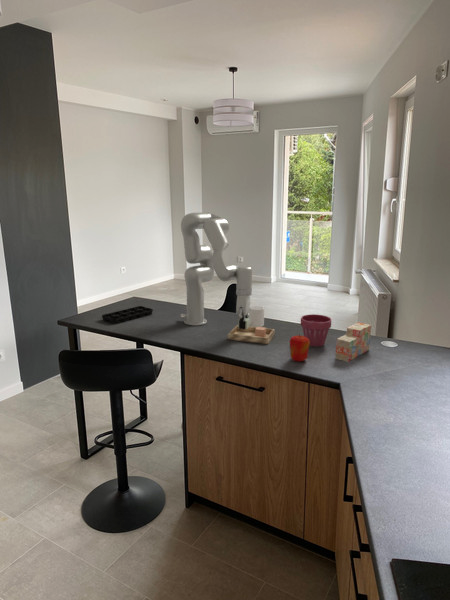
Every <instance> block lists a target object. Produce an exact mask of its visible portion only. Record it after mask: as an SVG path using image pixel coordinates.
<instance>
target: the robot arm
mask: <svg viewBox="0 0 450 600" xmlns="http://www.w3.org/2000/svg"><path fill="white" fill-rule="evenodd" d="M201 229H202V230H204V233H205V235H206V237H207V240H208V242H209V244H210V246H208V245H206V244H201V241H200V236H199V234H198V232H197V231H196V230H201ZM180 230H181V233H182V237H183V247H184V255H185V261H186V262H187V263H188V264H191V265H193V264H194V265H195V264H199V265H195V266H194V265H193V266H190V267H188V268H187V269H185V271H184V282H185V286H186V287H185V289H186V314H185V313H180V319H184V320H183V323H184V324H185V325H187V326H203V325H206V324H207V322H208V321H207V319H206V318H205V292H204V291H205V290H204V288H203V286H202V284H203V283H206V282H208V283H209V282H210V281H212V280H213V279H214V277H215V274H216V276H217V277H218V279H219V280H220V281H222V282H230V281H235V280H236V286H235V287H236V291H235V293H236V294H235V295H236V297H237V298H236V303H235V304H236V305H235V306H236V309H235V316H238V320H239V329H245V326H246V321H245V318H249V312H250V306H251V296H252V295H253V293H252V292H253V291H252V290H253V268H252V267H250V266H244V265H240V264H239V263H237V264H236V263H235V264H228V265H226V263H225V261H224V259H223V253H224V251H225V250H227V248H228V247H229V244H230V243H229V241H228V239H227V237H226V234H228V232H229V230H230V224H229V222H228V221H227V220H226V219H225V218H224V217H221V216H219V215H216V214H214V213H210V212H190V213H187V214H185V215H184V216H183V217H182V219H181V222H180ZM211 248H212V249H211Z"/></svg>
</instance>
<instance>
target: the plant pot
mask: <svg viewBox="0 0 450 600" xmlns="http://www.w3.org/2000/svg"><path fill="white" fill-rule="evenodd" d="M300 326H301V327H302V332H303V336H304V337H307V338H308V339H309V341H310V344H309V347H314V348H315V347H323V346H325V344H326V340H327V336H328V335H329V334H328V333H329V330H330V329H331V328H332V318H331V317H329V316H327V315H323V314H315V313H314V314H305V315H302V316H301V317H300Z"/></svg>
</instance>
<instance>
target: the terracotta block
mask: <svg viewBox="0 0 450 600" xmlns="http://www.w3.org/2000/svg"><path fill="white" fill-rule="evenodd" d="M266 328H267V327H264V326H263V327H257V328H256V329H255V336H258V337H266Z"/></svg>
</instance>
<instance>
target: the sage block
mask: <svg viewBox="0 0 450 600" xmlns="http://www.w3.org/2000/svg"><path fill="white" fill-rule="evenodd" d="M245 321H246V326H245V329H248V328H249V327H250V326H249V317H248V318H245ZM237 325H238V329H239V319H238V320H237Z"/></svg>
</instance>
